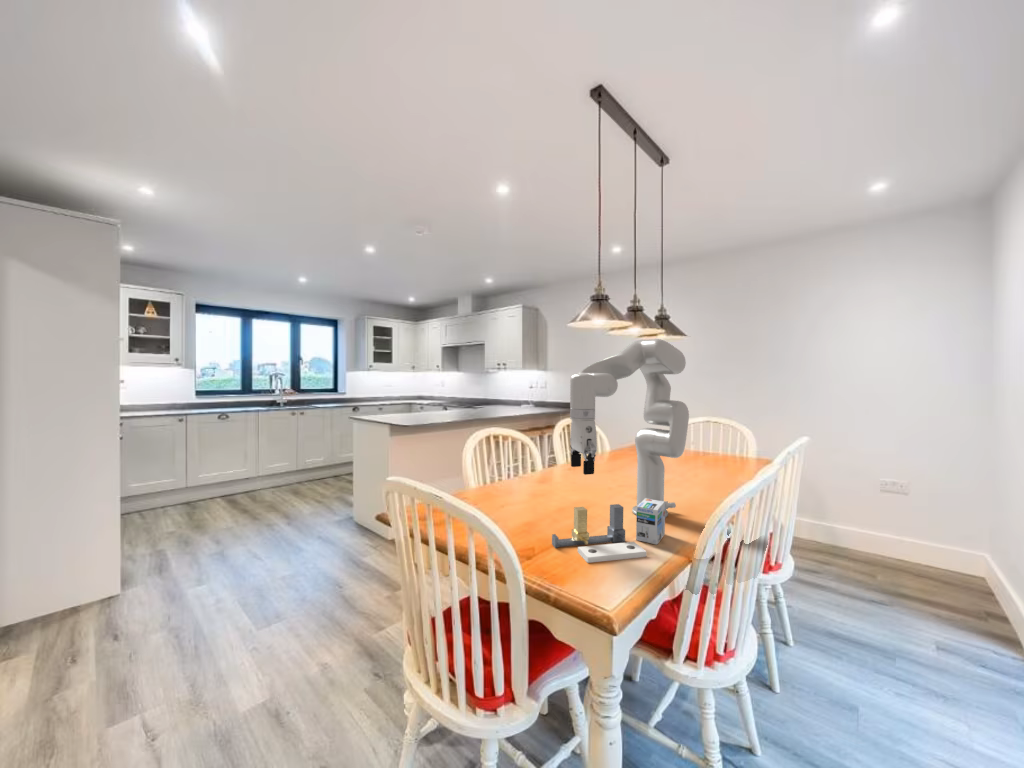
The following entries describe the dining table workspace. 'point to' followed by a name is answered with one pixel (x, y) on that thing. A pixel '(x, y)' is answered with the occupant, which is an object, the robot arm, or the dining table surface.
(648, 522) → the light bulb box
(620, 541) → the rail
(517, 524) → the dining table surface
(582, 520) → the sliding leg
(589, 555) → the hole plate
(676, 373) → the robot arm
